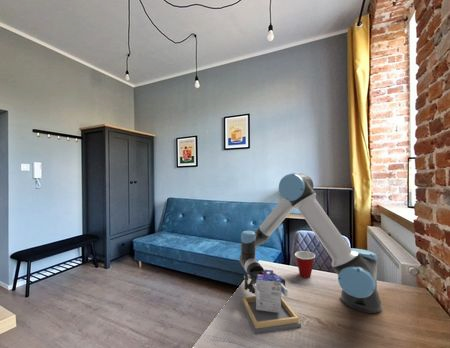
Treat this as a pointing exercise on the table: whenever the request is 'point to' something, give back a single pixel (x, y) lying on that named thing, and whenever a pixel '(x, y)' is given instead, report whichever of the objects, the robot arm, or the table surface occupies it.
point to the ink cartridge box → (269, 292)
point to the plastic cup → (305, 263)
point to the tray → (269, 317)
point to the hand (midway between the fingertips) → (272, 294)
